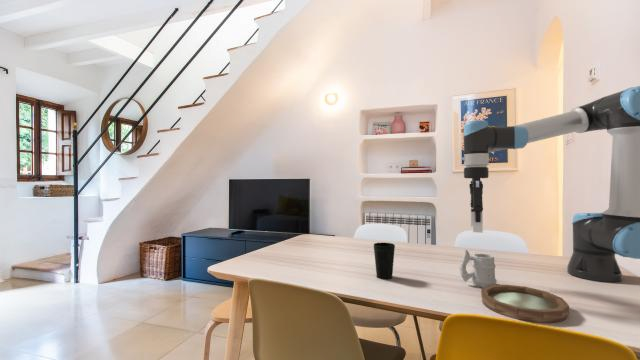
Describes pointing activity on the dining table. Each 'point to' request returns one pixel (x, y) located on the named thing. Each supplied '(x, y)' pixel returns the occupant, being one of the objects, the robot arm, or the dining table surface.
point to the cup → (384, 260)
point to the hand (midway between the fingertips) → (476, 229)
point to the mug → (479, 269)
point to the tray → (525, 303)
